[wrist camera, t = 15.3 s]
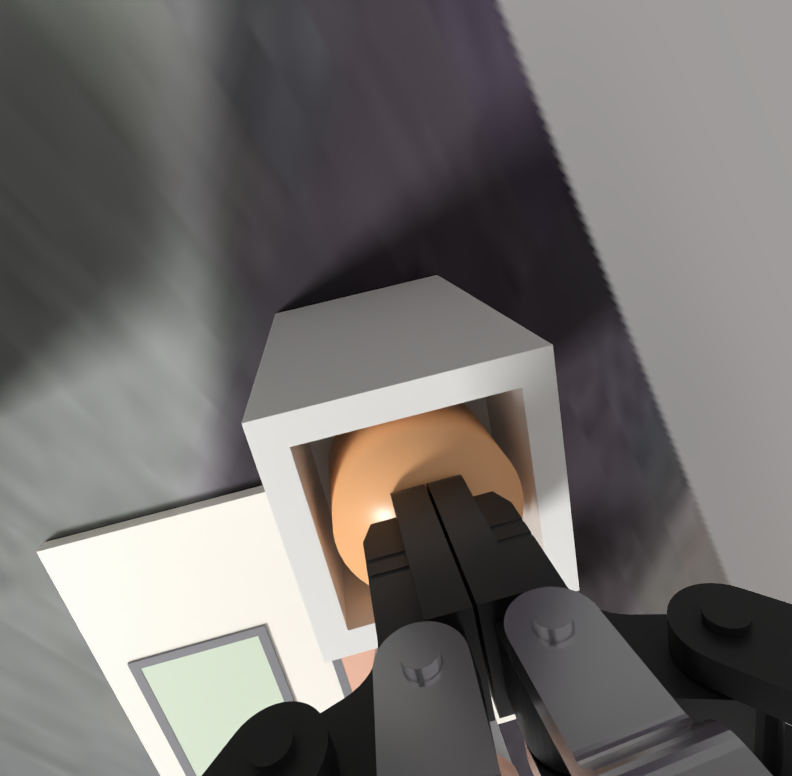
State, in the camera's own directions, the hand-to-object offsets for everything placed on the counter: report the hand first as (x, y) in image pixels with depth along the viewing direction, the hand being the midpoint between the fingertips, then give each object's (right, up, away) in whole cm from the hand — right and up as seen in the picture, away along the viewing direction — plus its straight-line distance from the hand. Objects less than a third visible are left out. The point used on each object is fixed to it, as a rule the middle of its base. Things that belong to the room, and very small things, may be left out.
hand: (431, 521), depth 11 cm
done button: (0, +1, +2) cm, 2 cm away
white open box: (-1, +3, +9) cm, 10 cm away
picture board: (-3, -8, +13) cm, 16 cm away
